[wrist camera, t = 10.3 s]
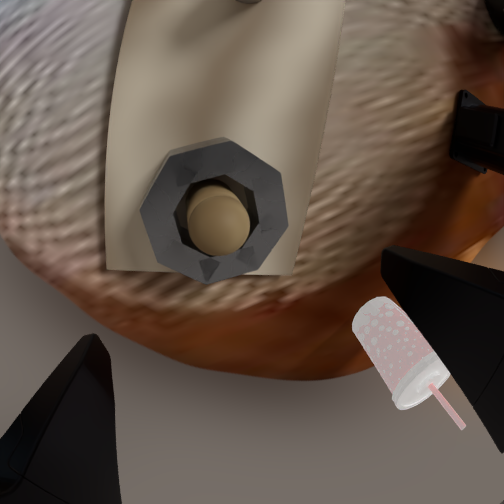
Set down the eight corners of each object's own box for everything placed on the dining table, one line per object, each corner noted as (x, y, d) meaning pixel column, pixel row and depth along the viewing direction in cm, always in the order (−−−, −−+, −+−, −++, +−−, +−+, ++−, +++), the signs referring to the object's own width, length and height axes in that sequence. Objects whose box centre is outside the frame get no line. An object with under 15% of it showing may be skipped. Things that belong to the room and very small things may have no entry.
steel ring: (259, 128, 16) (274, 132, 13) (279, 241, 19) (293, 259, 17) (133, 161, 15) (126, 169, 12) (169, 271, 18) (170, 294, 16)
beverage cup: (333, 342, 26) (413, 465, 14) (363, 285, 24) (473, 407, 12) (379, 342, 28) (456, 442, 16) (408, 292, 26) (505, 389, 14)
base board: (342, -30, 12) (394, -59, 7) (286, 268, 21) (322, 319, 16) (160, -68, 9) (160, -121, 4) (109, 262, 18) (91, 319, 13)
